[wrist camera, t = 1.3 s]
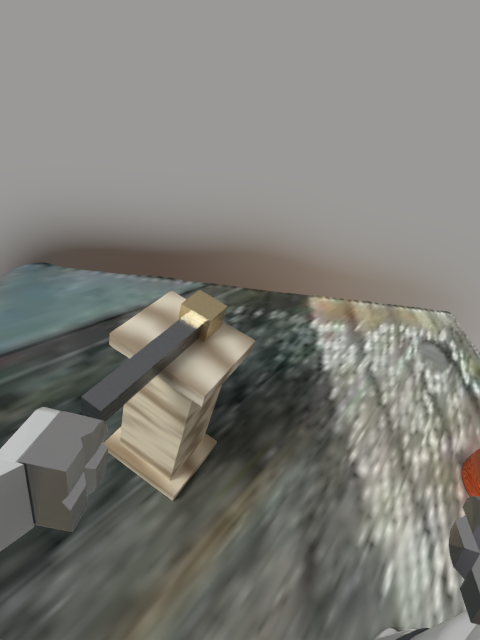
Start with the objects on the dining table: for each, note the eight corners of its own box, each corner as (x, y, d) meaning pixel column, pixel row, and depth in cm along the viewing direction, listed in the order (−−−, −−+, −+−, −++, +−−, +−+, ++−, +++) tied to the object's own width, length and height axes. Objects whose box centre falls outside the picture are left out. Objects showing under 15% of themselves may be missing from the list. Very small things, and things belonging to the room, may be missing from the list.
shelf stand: (172, 501, 64) (204, 396, 47) (103, 448, 67) (109, 333, 51) (215, 446, 73) (255, 340, 56) (151, 401, 76) (171, 290, 59)
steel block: (107, 431, 41) (108, 409, 39) (74, 407, 42) (73, 384, 40) (225, 322, 57) (231, 302, 55) (198, 306, 58) (203, 286, 56)
